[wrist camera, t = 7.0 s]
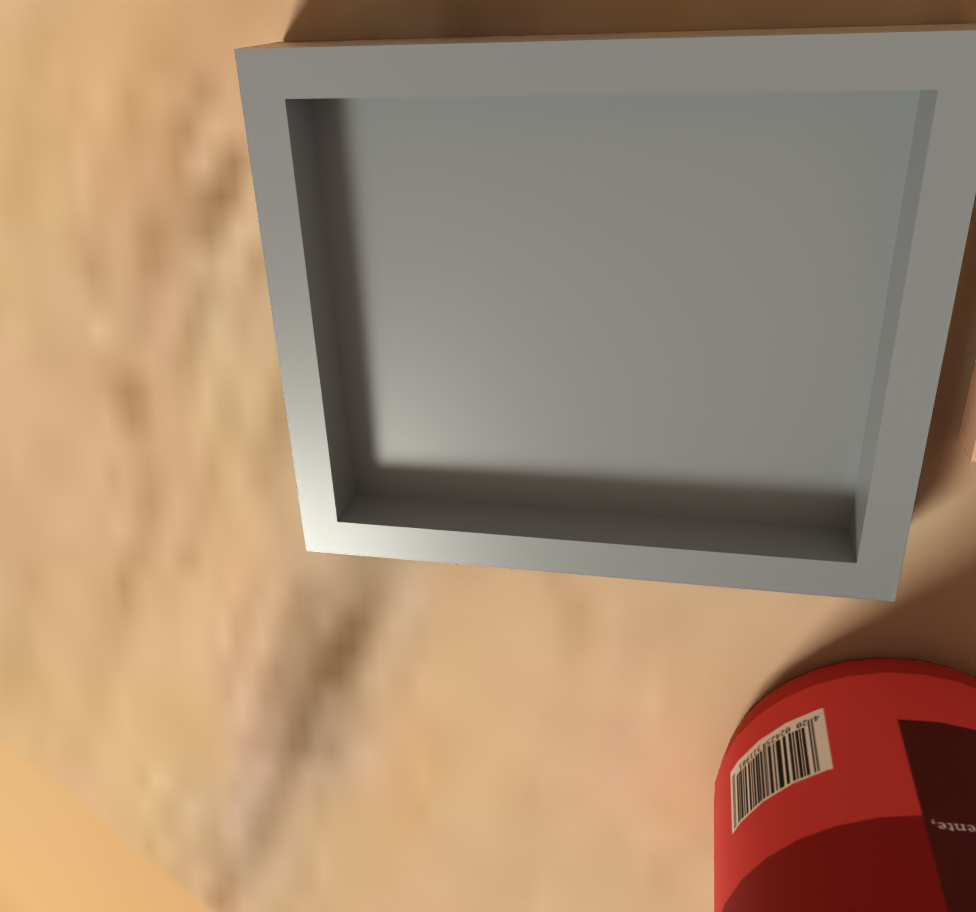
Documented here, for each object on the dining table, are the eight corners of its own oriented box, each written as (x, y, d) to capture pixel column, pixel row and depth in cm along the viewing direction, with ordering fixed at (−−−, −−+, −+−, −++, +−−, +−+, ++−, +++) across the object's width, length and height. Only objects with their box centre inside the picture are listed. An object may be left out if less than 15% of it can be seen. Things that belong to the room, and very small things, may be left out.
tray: (973, 22, 15) (1007, 29, 13) (877, 546, 20) (895, 602, 18) (281, 42, 17) (234, 49, 16) (337, 505, 22) (306, 550, 20)
